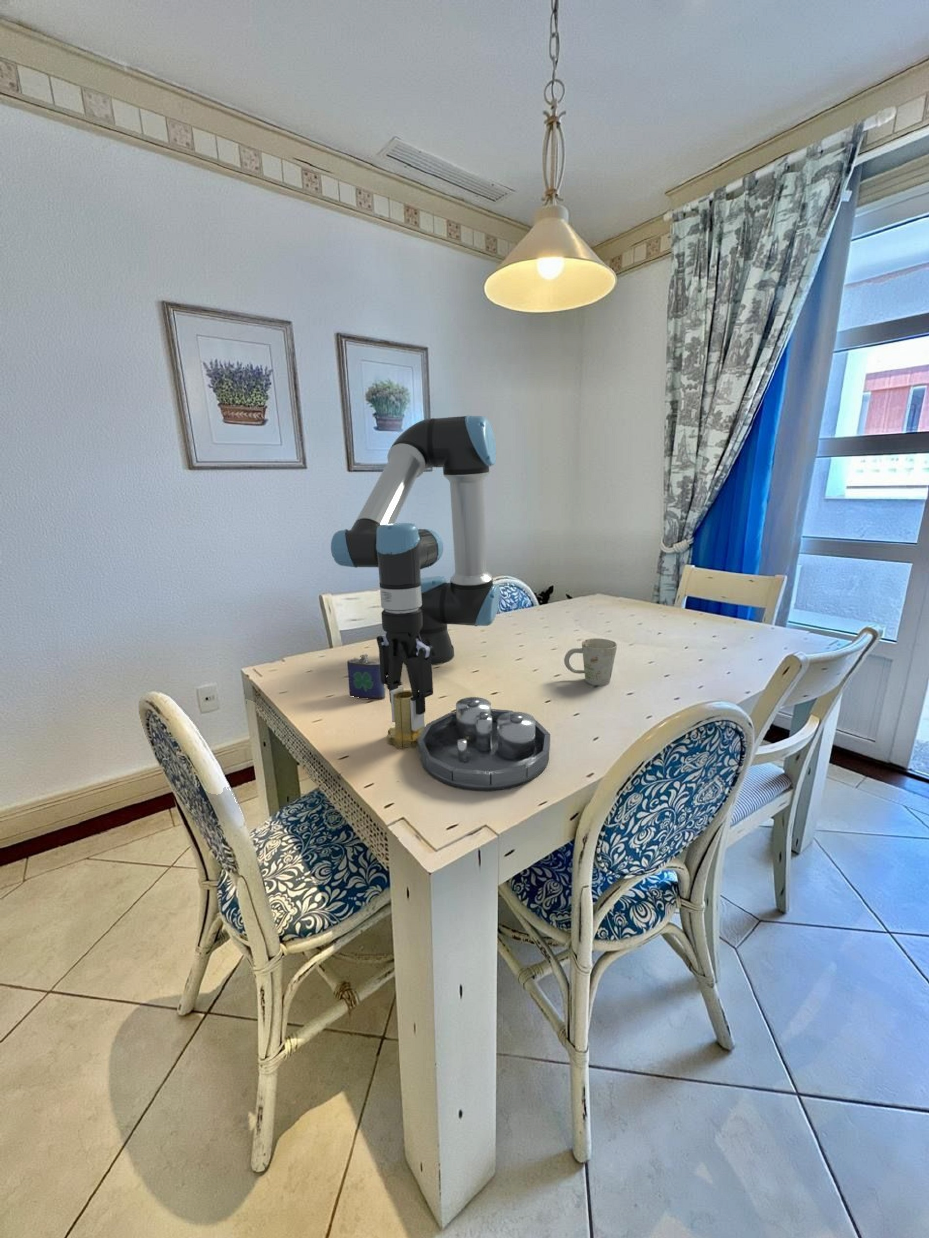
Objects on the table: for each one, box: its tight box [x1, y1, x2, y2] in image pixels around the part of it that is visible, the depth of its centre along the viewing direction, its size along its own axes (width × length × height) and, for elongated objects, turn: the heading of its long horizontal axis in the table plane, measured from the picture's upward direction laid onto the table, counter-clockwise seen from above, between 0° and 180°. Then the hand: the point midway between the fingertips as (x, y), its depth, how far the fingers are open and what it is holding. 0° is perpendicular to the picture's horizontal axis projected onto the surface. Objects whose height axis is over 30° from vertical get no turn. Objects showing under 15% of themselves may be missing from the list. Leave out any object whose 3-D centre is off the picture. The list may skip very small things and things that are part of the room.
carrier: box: [417, 696, 551, 792], centre depth 91 cm, size 24×24×8 cm
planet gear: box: [386, 689, 426, 750], centre depth 96 cm, size 8×8×10 cm
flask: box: [346, 653, 386, 700], centre depth 117 cm, size 9×3×11 cm, turn 74°
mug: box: [563, 637, 618, 686], centre depth 123 cm, size 8×13×10 cm, turn 78°
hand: (408, 723), depth 97 cm, fingers open, 5 cm apart
